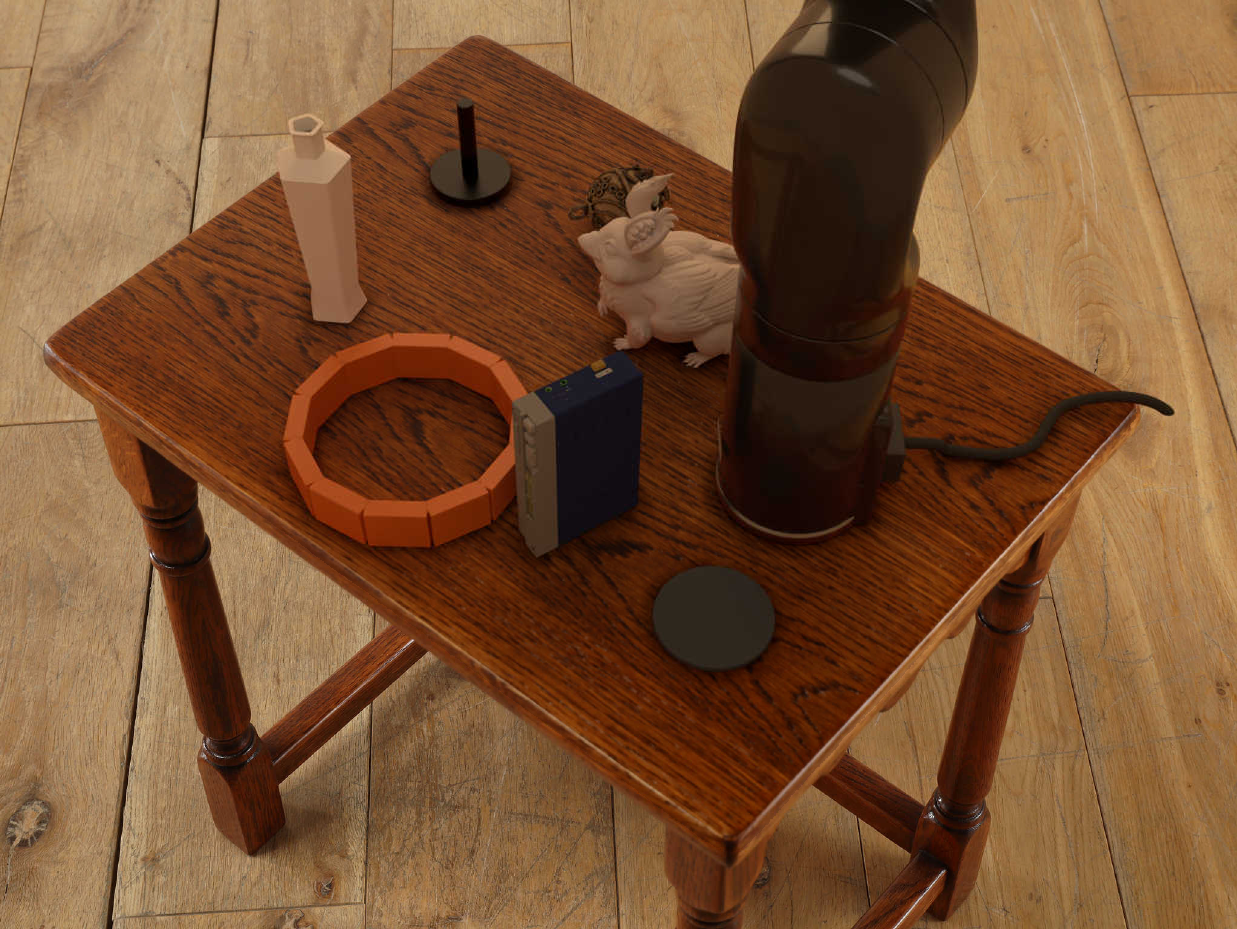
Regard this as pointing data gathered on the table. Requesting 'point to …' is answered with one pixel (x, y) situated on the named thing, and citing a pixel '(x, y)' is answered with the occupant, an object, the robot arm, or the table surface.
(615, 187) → the pendant
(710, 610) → the coaster
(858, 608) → the table surface
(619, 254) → the figurine
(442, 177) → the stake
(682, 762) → the table surface
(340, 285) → the perfume bottle
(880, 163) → the robot arm
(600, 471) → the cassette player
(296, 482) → the hoop
